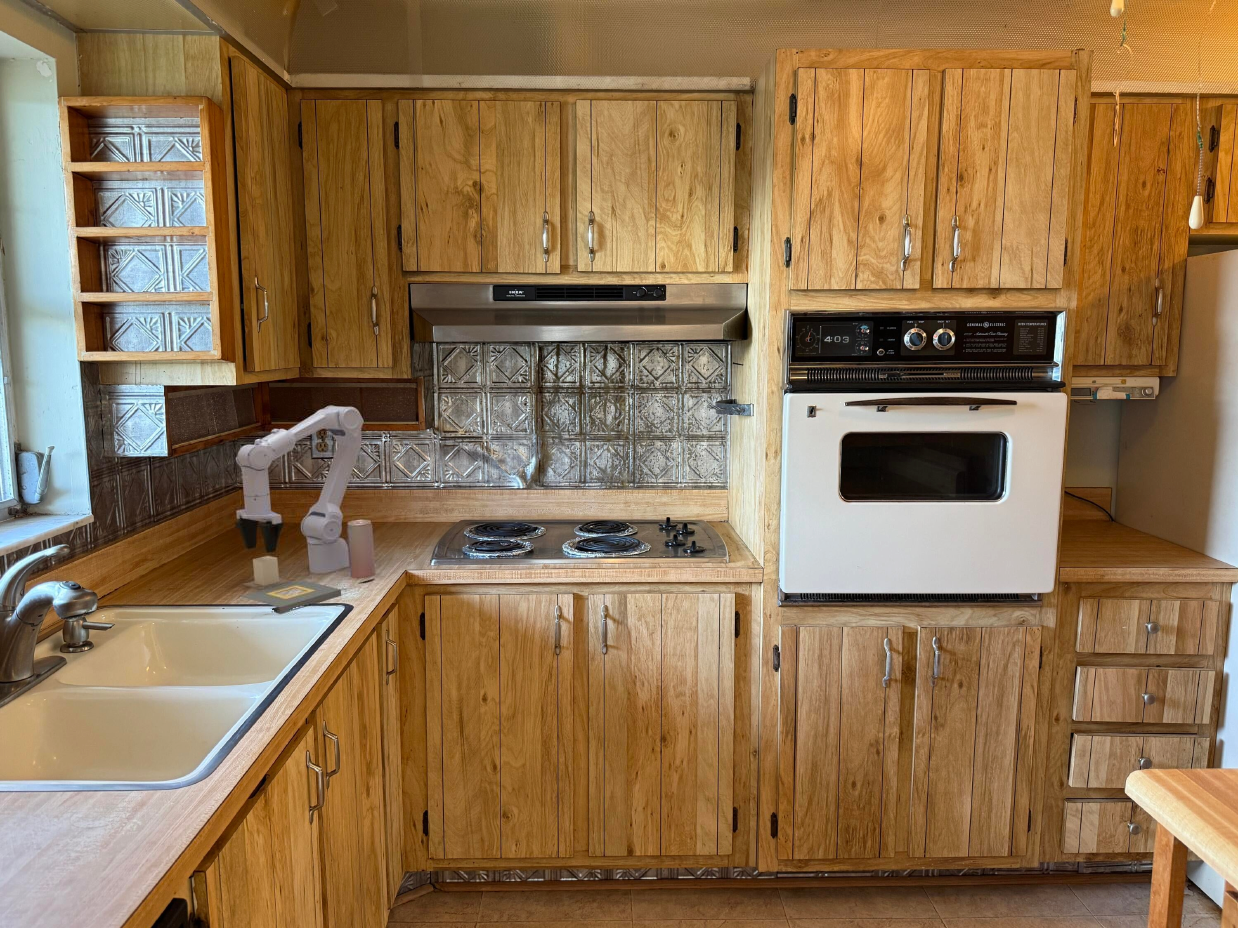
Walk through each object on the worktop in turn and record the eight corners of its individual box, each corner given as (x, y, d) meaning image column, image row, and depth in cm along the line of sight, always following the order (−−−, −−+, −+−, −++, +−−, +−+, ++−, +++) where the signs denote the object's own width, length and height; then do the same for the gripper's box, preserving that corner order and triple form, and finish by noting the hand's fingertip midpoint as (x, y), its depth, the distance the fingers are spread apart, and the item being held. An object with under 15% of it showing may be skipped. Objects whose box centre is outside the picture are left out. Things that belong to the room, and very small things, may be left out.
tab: (272, 581, 219) (272, 576, 218) (291, 586, 214) (291, 580, 214) (243, 589, 212) (242, 583, 212) (261, 594, 207) (261, 588, 207)
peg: (269, 579, 216) (267, 555, 215) (279, 581, 213) (277, 557, 212) (254, 583, 212) (252, 559, 211) (264, 585, 210) (262, 561, 209)
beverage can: (346, 580, 218) (342, 522, 216) (368, 575, 222) (364, 518, 220) (358, 585, 214) (354, 525, 211) (380, 580, 218) (376, 521, 216)
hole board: (301, 585, 215) (300, 578, 215) (341, 595, 206) (340, 588, 205) (240, 602, 202) (240, 595, 202) (280, 613, 193) (280, 606, 193)
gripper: (223, 494, 208) (228, 550, 210) (261, 499, 201) (265, 557, 203) (249, 490, 214) (253, 544, 216) (287, 495, 207) (291, 550, 208)
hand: (261, 550), depth 210 cm, fingers open, 7 cm apart
